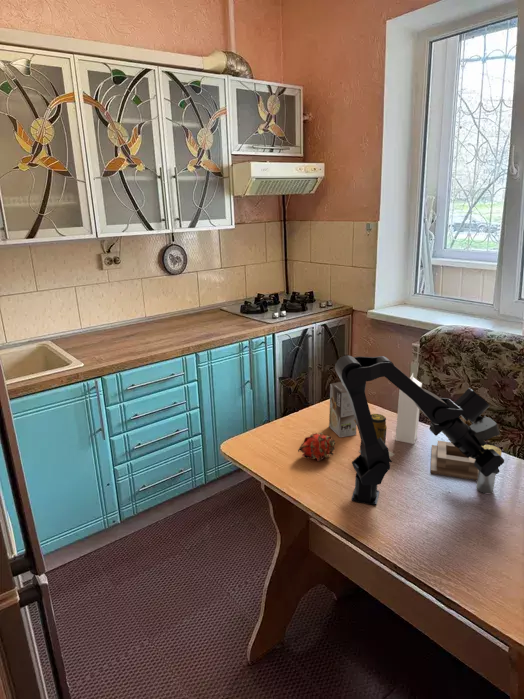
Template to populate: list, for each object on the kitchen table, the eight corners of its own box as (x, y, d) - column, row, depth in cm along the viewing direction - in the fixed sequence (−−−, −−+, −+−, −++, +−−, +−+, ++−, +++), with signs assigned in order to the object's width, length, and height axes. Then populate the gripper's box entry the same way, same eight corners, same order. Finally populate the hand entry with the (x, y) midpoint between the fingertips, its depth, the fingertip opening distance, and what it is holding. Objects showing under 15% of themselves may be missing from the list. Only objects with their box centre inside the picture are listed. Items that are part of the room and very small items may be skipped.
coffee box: (357, 435, 164) (359, 390, 160) (339, 437, 162) (341, 392, 158) (344, 423, 173) (346, 381, 168) (327, 426, 171) (329, 383, 166)
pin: (496, 496, 130) (502, 456, 126) (474, 492, 131) (480, 452, 128) (494, 485, 135) (500, 446, 131) (473, 482, 136) (478, 443, 133)
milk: (395, 440, 160) (399, 377, 154) (398, 433, 166) (403, 371, 159) (414, 444, 158) (419, 379, 151) (417, 436, 163) (422, 373, 157)
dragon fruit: (338, 461, 151) (301, 470, 149) (328, 436, 156) (292, 445, 154) (342, 449, 144) (303, 459, 142) (332, 424, 149) (294, 433, 147)
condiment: (373, 444, 158) (375, 410, 154) (395, 454, 152) (398, 419, 148) (358, 451, 153) (360, 416, 150) (380, 462, 147) (383, 425, 144)
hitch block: (483, 481, 137) (485, 468, 135) (430, 473, 141) (431, 460, 140) (479, 454, 151) (481, 443, 150) (431, 447, 155) (432, 436, 154)
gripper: (501, 426, 117) (538, 465, 121) (463, 396, 135) (496, 431, 139) (466, 457, 119) (503, 495, 123) (433, 424, 136) (466, 457, 141)
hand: (492, 467), depth 131 cm, fingers closed on pin, 5 cm apart
